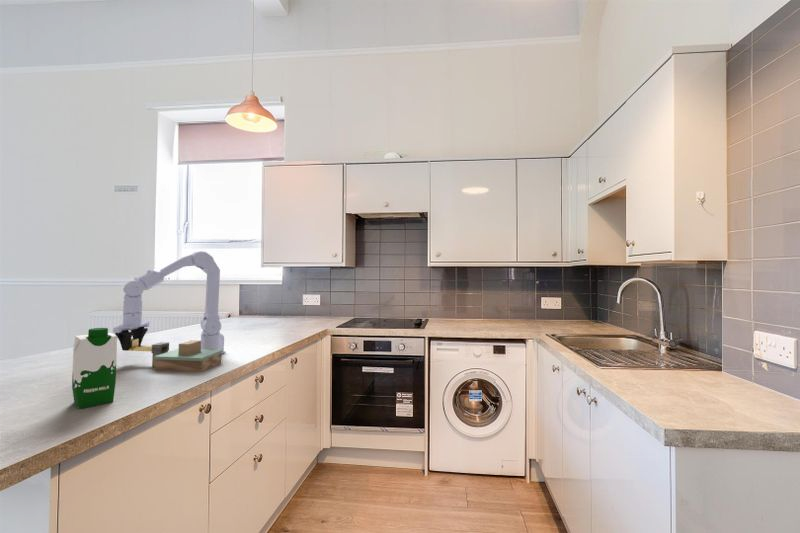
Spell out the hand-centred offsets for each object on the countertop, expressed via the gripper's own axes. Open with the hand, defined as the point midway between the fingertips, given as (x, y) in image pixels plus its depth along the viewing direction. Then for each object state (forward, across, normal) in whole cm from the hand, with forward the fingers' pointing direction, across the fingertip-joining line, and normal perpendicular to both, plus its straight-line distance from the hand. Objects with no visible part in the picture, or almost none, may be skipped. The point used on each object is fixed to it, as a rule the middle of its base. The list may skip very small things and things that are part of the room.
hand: (131, 348), depth 135 cm
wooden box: (+6, 0, +21) cm, 22 cm away
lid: (+2, 0, +23) cm, 23 cm away
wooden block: (0, 0, +5) cm, 5 cm away
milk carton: (+6, +37, +21) cm, 43 cm away
